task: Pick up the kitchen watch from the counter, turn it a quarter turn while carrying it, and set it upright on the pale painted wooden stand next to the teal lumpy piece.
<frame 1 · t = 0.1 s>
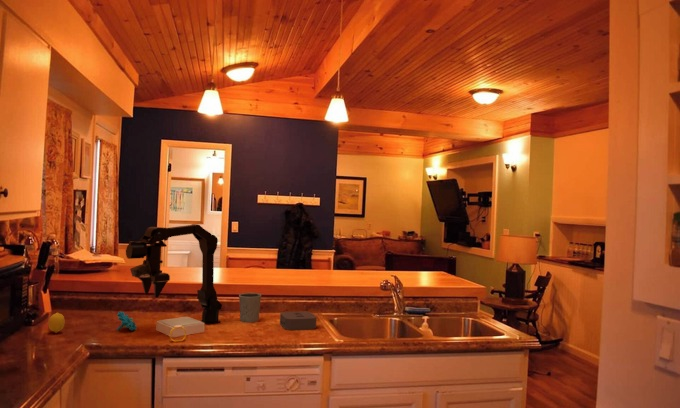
hand: (151, 296, 196), 15 cm above the countertop, tool pointing down, fingers open, 9 cm apart
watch: (177, 341, 184), on the countertop
stand: (180, 331, 199), on the countertop
streaming box: (297, 326, 217), on the countertop
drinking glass: (248, 320, 223), on the countertop
teal lumpy piece: (126, 330, 197), on the countertop
lemon: (56, 333, 188), on the countertop
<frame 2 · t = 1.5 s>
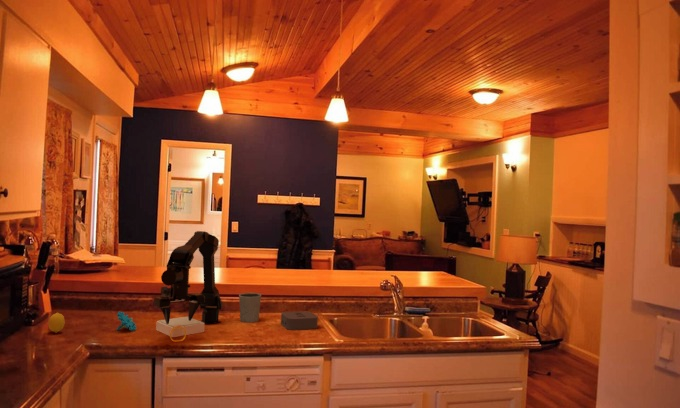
hand: (178, 322, 184), 7 cm above the countertop, tool pointing down, fingers open, 9 cm apart
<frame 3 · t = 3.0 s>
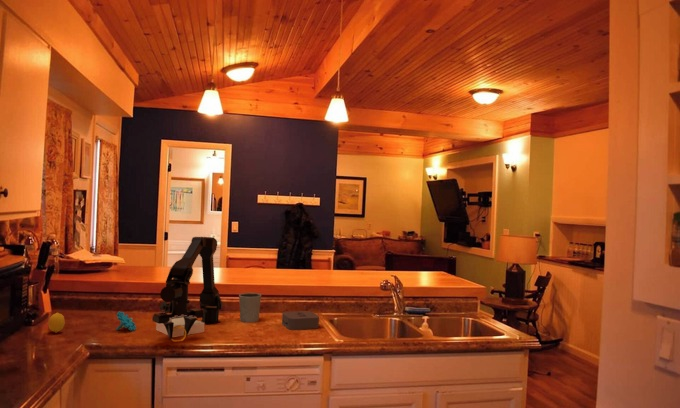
hand: (177, 337, 184), 1 cm above the countertop, tool pointing down, fingers closed on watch, 6 cm apart
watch: (177, 341, 184), on the countertop, touching gripper
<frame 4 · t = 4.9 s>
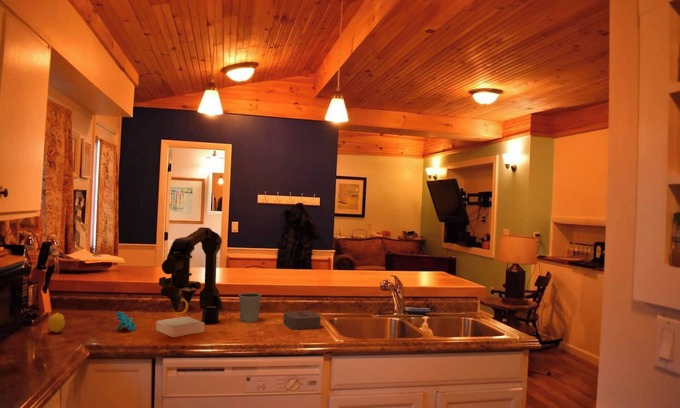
hand: (180, 310, 189), 11 cm above the countertop, tool pointing down, fingers closed on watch, 6 cm apart
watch: (180, 313, 189), point 9 cm above the countertop, touching gripper
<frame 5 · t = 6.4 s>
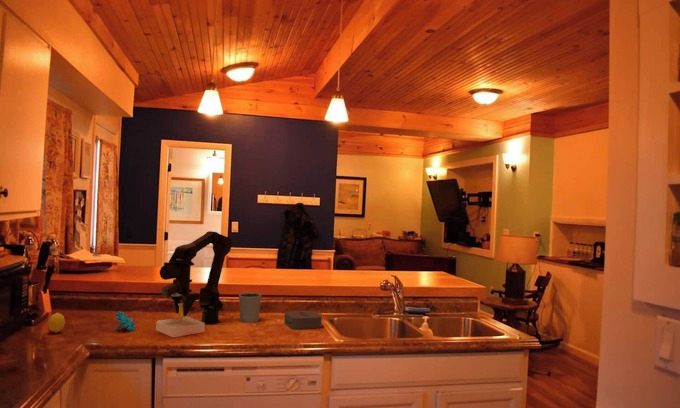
hand: (181, 314, 199), 7 cm above the countertop, tool pointing down, fingers closed on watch, 6 cm apart
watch: (181, 318, 199), point 5 cm above the countertop, touching gripper
when the fingers open (7 cm above the countertop, at t = 7.2 s): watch drops 1 cm, resting on stand.
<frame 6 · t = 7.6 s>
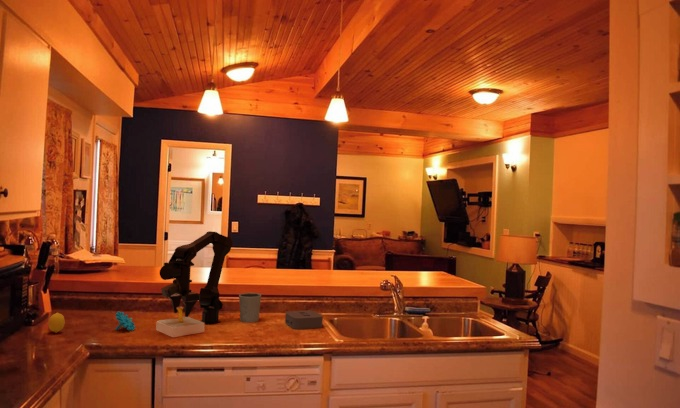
hand: (181, 314, 199), 7 cm above the countertop, tool pointing down, fingers open, 9 cm apart
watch: (180, 321, 199), point 4 cm above the countertop, touching stand
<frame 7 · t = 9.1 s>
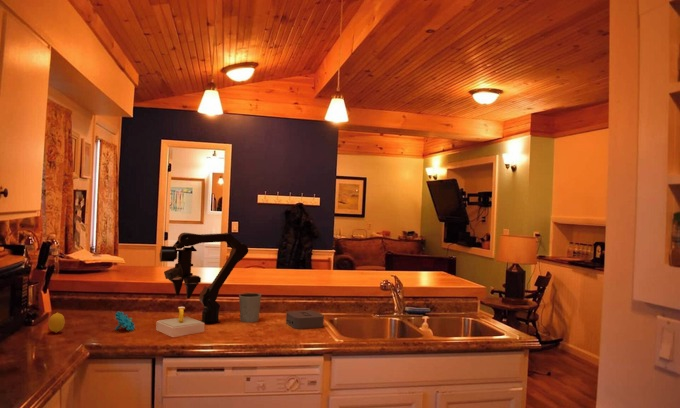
hand: (182, 297, 210), 12 cm above the countertop, tool pointing down, fingers open, 9 cm apart
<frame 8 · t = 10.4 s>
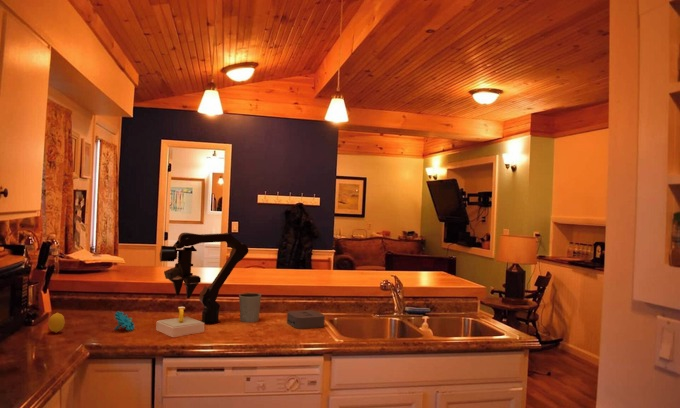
hand: (182, 296, 210), 12 cm above the countertop, tool pointing down, fingers open, 9 cm apart
at the end: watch inside the target area on the stand (0.1 cm from its centre), point 3.8 cm above the stand's base; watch tilted 0°; the gripper is holding nothing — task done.
